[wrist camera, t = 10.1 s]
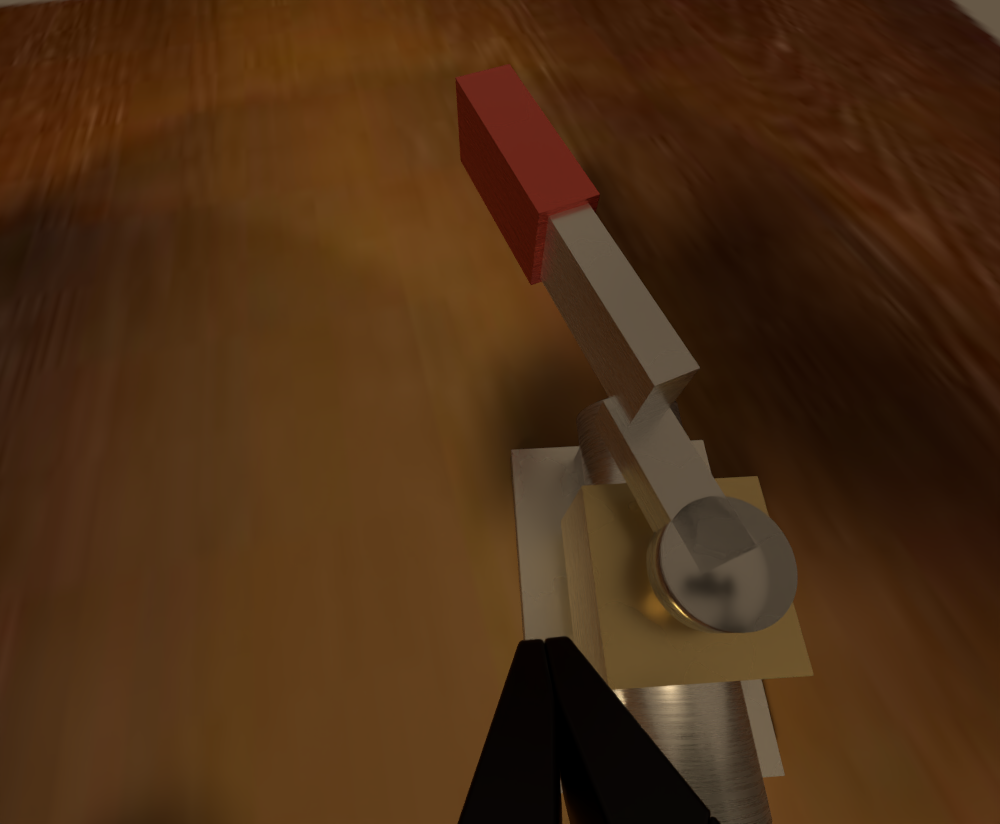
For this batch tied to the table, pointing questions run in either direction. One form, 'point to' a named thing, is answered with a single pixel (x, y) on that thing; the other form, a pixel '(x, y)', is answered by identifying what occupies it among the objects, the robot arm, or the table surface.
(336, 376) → the table surface
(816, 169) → the table surface
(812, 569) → the table surface
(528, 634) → the stand
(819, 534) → the table surface
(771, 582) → the valve lever
